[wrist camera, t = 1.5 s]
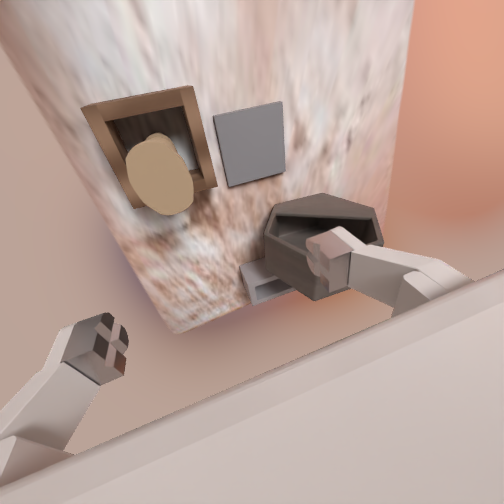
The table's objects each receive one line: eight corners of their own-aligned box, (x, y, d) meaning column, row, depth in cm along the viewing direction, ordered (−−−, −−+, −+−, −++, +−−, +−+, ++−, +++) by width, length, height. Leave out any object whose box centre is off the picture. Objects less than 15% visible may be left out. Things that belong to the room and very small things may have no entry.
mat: (212, 115, 31) (214, 116, 31) (280, 101, 33) (282, 101, 32) (227, 185, 38) (229, 186, 37) (283, 170, 39) (285, 171, 39)
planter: (370, 193, 42) (392, 269, 27) (361, 228, 47) (376, 310, 32) (279, 191, 47) (254, 256, 31) (279, 224, 52) (258, 293, 36)
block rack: (239, 265, 49) (247, 284, 44) (355, 226, 53) (374, 240, 49) (244, 286, 53) (252, 306, 48) (351, 248, 57) (368, 263, 53)
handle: (155, 173, 33) (156, 222, 22) (128, 126, 29) (111, 156, 18) (187, 160, 34) (203, 202, 22) (164, 112, 29) (170, 132, 18)
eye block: (90, 103, 27) (80, 107, 23) (188, 85, 29) (193, 86, 25) (136, 194, 34) (133, 209, 30) (211, 175, 36) (217, 186, 32)
